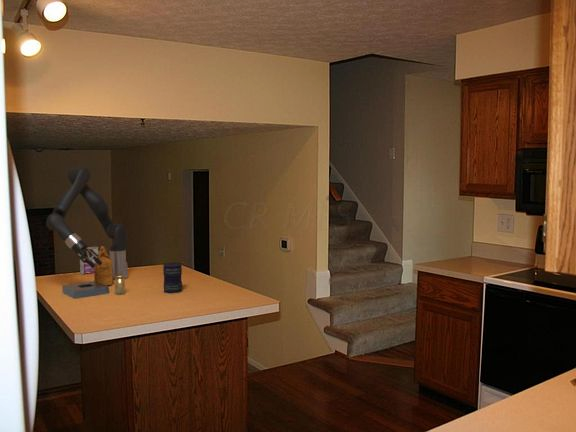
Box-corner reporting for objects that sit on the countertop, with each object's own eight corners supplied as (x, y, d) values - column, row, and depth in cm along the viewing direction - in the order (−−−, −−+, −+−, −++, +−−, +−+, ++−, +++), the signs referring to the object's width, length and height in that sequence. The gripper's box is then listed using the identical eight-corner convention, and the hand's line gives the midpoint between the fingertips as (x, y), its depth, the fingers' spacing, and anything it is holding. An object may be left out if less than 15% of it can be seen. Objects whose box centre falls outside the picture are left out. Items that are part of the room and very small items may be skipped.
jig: (95, 288, 296) (95, 281, 296) (109, 293, 282) (108, 286, 282) (62, 292, 284) (62, 285, 284) (74, 298, 271) (74, 291, 270)
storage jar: (177, 293, 282) (177, 266, 280) (160, 293, 284) (159, 265, 282) (185, 289, 291) (184, 262, 290) (168, 289, 293) (167, 262, 292)
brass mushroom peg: (123, 292, 285) (122, 274, 284) (127, 294, 281) (127, 275, 280) (112, 293, 282) (112, 275, 281) (117, 295, 277) (116, 276, 277)
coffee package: (111, 282, 313) (110, 245, 311) (114, 286, 301) (113, 247, 300) (93, 283, 309) (92, 245, 307) (95, 287, 297) (94, 248, 296)
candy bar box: (95, 271, 348) (94, 246, 346) (99, 272, 345) (99, 247, 343) (79, 273, 339) (78, 248, 338) (84, 274, 336) (83, 248, 334)
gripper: (74, 240, 273) (96, 262, 273) (86, 237, 287) (108, 258, 288) (64, 250, 274) (87, 272, 274) (77, 247, 288) (98, 268, 288)
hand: (97, 265), depth 281 cm, fingers open, 8 cm apart
